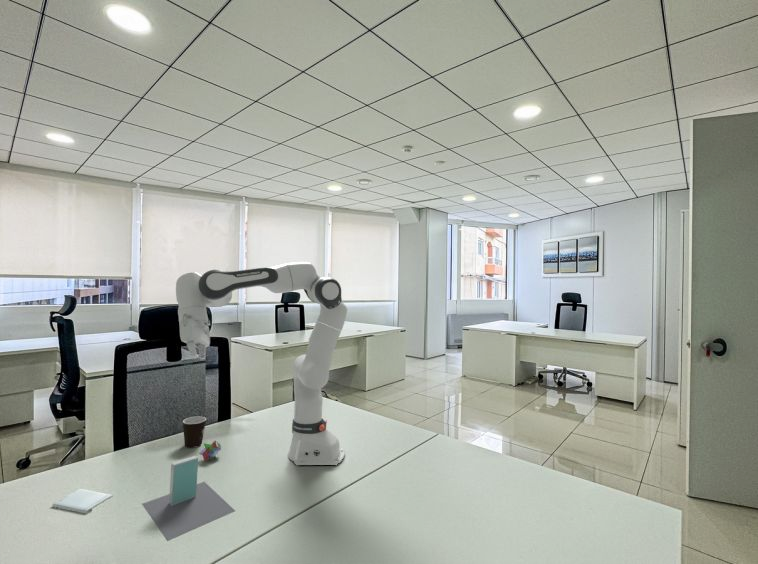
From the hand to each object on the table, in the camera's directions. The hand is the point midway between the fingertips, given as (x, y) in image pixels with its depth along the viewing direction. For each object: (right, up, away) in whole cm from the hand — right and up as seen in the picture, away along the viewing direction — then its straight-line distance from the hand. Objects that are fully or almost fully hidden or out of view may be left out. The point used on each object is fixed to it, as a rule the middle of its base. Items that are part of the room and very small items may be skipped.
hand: (198, 357), depth 121 cm
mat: (+5, -42, -15) cm, 45 cm away
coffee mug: (-16, -42, +29) cm, 54 cm away
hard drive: (-28, -41, -14) cm, 51 cm away
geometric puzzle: (-3, -42, +15) cm, 45 cm away
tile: (+1, -41, -11) cm, 43 cm away
